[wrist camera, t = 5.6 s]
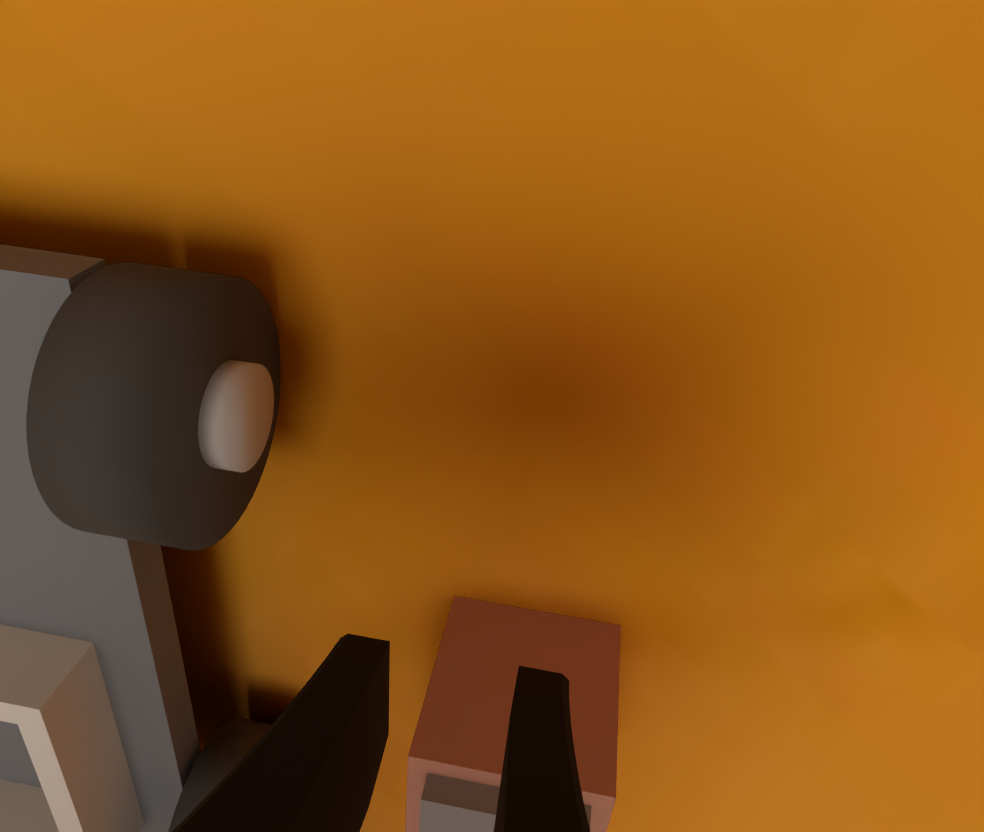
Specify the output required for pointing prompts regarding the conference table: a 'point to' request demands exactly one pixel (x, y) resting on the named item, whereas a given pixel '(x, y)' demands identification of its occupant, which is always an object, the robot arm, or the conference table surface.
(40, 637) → the chassis
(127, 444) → the loose wheel
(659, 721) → the conference table surface
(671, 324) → the conference table surface
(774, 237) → the conference table surface
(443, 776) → the brown capped block
